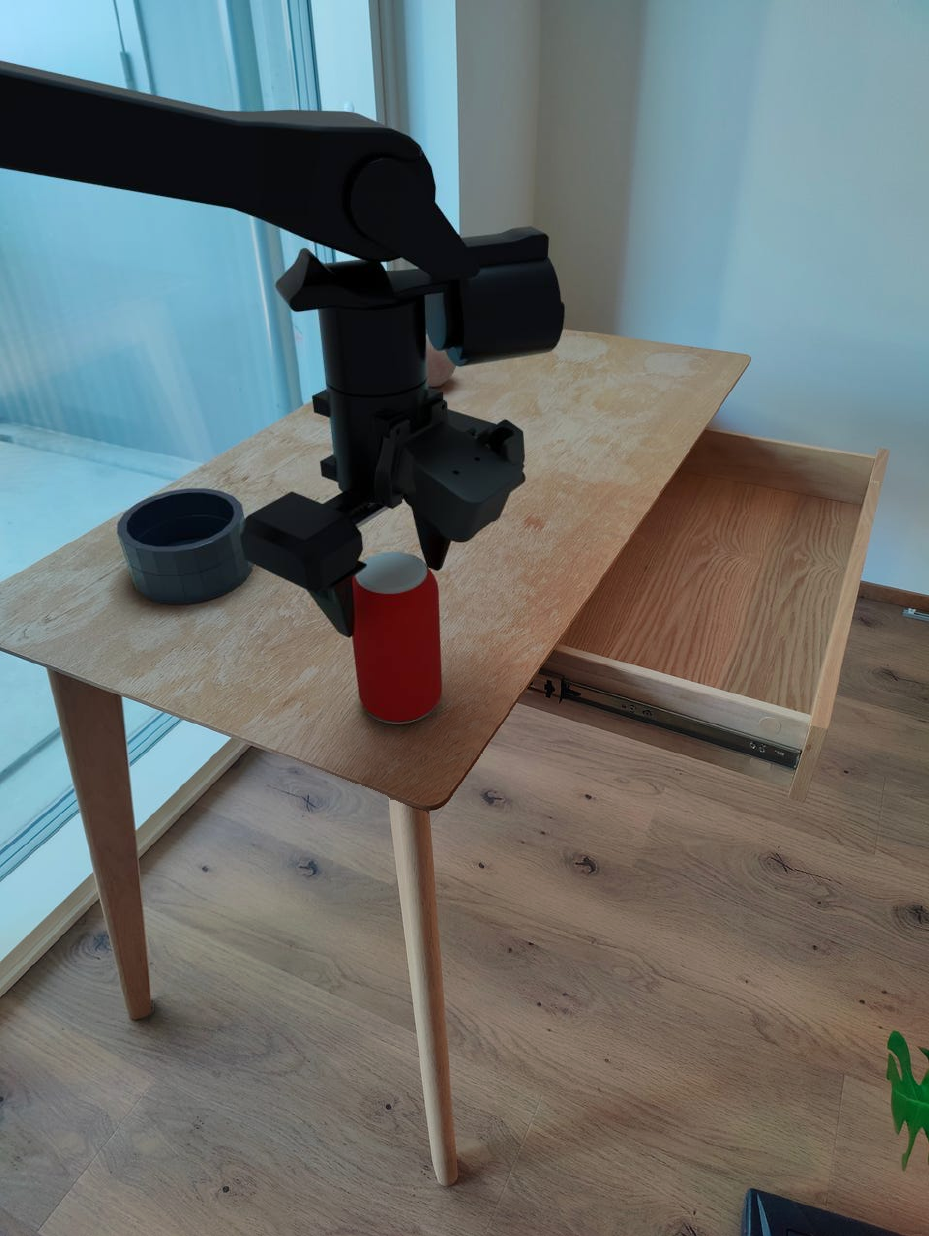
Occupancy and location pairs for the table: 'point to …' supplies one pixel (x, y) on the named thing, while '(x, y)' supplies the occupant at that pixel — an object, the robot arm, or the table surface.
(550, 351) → the robot arm
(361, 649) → the beverage can
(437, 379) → the apple
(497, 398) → the table surface
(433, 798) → the table surface
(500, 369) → the table surface
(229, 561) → the pot
